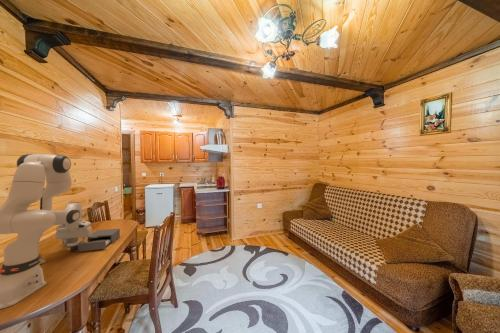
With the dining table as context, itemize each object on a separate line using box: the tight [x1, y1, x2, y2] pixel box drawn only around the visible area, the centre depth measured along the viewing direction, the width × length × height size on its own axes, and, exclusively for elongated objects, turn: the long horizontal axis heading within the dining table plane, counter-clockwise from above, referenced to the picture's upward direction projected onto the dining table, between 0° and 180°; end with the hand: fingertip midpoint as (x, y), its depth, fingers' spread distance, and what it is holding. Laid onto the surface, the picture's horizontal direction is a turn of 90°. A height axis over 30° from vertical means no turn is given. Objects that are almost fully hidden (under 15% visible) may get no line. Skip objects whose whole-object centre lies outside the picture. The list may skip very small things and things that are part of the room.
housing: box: [87, 228, 121, 245], centre depth 149 cm, size 14×16×7 cm
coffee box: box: [62, 224, 79, 249], centre depth 142 cm, size 9×6×16 cm
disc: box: [68, 239, 81, 248], centre depth 133 cm, size 7×7×2 cm
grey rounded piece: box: [69, 245, 78, 253], centre depth 133 cm, size 4×4×4 cm
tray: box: [77, 239, 111, 252], centre depth 138 cm, size 14×16×5 cm
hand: (74, 243), depth 134 cm, fingers open, 8 cm apart
